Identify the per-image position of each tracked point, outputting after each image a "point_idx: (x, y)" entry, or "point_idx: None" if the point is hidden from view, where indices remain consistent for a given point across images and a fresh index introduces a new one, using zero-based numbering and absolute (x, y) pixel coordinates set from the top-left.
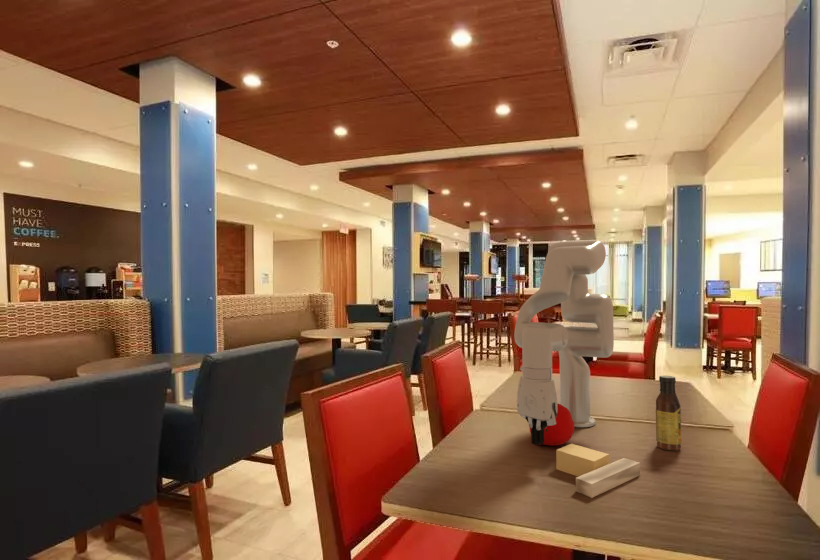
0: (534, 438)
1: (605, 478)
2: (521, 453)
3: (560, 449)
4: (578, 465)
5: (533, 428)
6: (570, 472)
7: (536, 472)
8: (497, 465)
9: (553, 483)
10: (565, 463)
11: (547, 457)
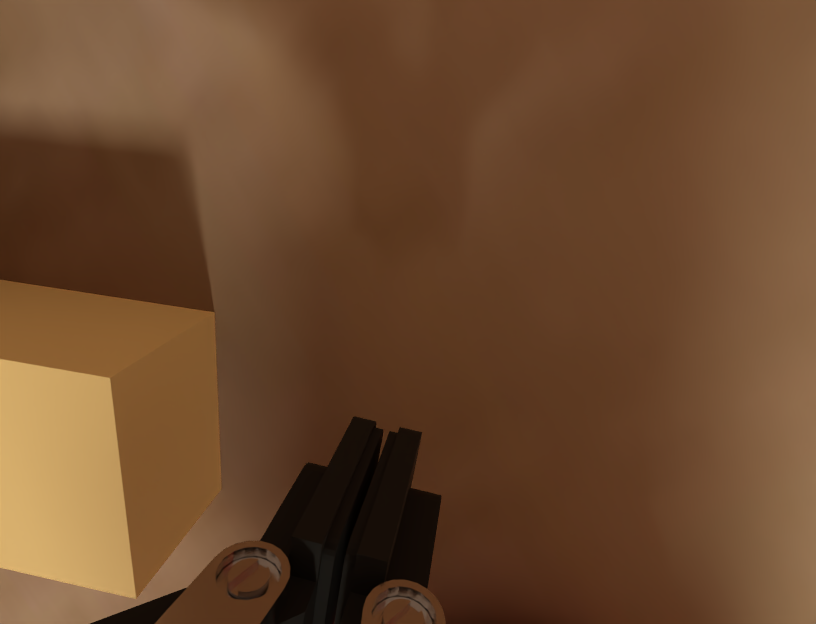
0: (367, 464)
1: None
2: (585, 438)
3: (95, 412)
4: None
5: (365, 583)
6: (98, 298)
7: (275, 138)
8: (643, 12)
9: (61, 24)
10: (95, 323)
11: None
